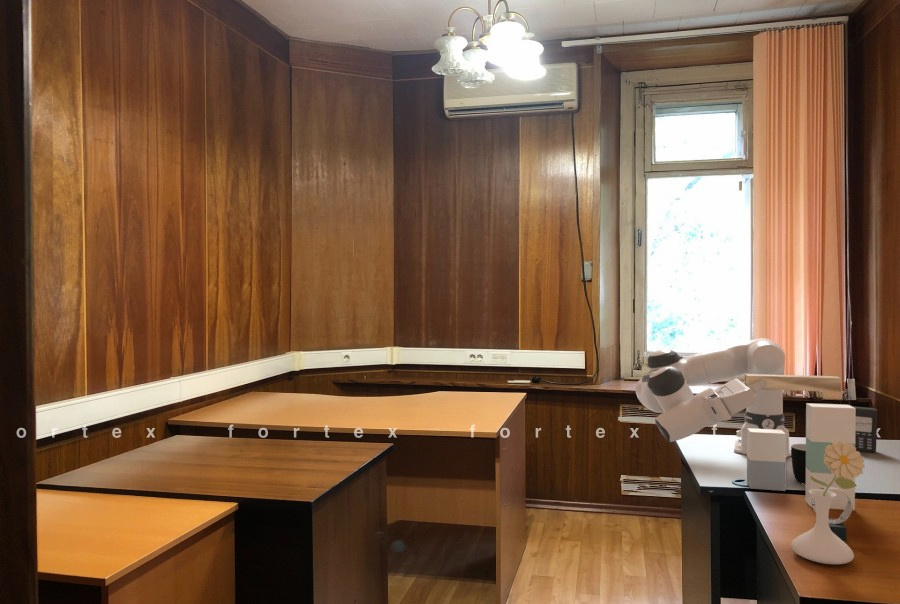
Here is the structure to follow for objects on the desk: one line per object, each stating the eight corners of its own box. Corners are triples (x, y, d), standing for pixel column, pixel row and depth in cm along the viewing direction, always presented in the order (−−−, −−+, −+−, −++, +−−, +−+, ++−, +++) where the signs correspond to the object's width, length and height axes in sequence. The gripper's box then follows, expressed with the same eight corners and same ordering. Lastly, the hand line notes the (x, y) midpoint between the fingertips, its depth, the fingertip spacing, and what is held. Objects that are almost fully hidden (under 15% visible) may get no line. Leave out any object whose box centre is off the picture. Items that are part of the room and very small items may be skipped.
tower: (805, 500, 171) (806, 403, 170) (847, 503, 168) (848, 404, 168) (811, 507, 166) (811, 406, 165) (854, 510, 163) (855, 408, 163)
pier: (746, 483, 186) (747, 428, 186) (781, 485, 184) (781, 429, 184) (750, 488, 181) (750, 431, 181) (785, 490, 179) (785, 433, 179)
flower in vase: (795, 565, 131) (796, 443, 131) (787, 544, 142) (788, 431, 142) (869, 575, 127) (871, 448, 126) (856, 552, 137) (857, 436, 137)
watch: (808, 529, 151) (809, 482, 150) (848, 533, 148) (848, 485, 148) (814, 538, 145) (815, 490, 145) (855, 542, 143) (855, 493, 143)
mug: (833, 486, 183) (833, 451, 183) (802, 487, 183) (802, 451, 182) (807, 474, 195) (807, 441, 195) (778, 474, 194) (779, 441, 194)
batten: (744, 386, 173) (744, 373, 173) (836, 389, 167) (836, 376, 167) (747, 388, 169) (747, 375, 169) (840, 391, 164) (841, 378, 164)
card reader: (844, 450, 223) (845, 407, 223) (845, 447, 227) (845, 405, 226) (876, 454, 218) (877, 409, 218) (876, 451, 221) (877, 408, 221)
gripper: (715, 407, 183) (761, 384, 180) (727, 422, 163) (779, 397, 160) (703, 388, 184) (749, 365, 180) (713, 400, 164) (765, 374, 161)
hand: (763, 380), depth 170 cm, fingers closed on batten, 3 cm apart
